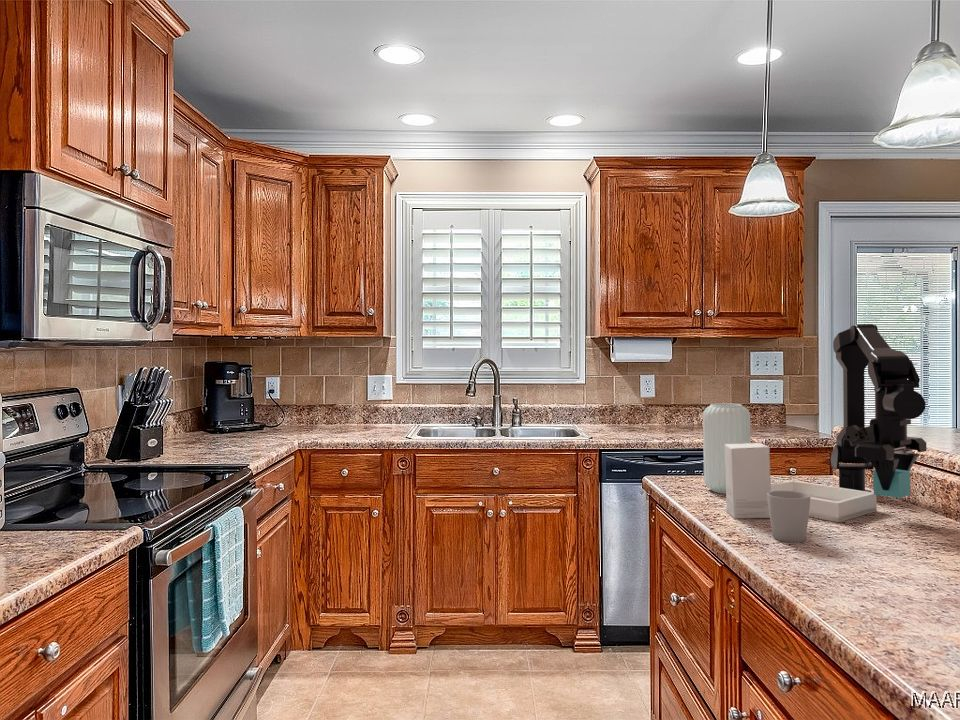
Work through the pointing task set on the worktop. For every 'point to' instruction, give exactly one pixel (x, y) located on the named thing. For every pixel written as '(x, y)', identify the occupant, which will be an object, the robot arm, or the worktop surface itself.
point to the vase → (722, 439)
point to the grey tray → (832, 500)
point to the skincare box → (747, 480)
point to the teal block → (894, 485)
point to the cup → (789, 515)
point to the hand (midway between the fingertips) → (891, 488)
